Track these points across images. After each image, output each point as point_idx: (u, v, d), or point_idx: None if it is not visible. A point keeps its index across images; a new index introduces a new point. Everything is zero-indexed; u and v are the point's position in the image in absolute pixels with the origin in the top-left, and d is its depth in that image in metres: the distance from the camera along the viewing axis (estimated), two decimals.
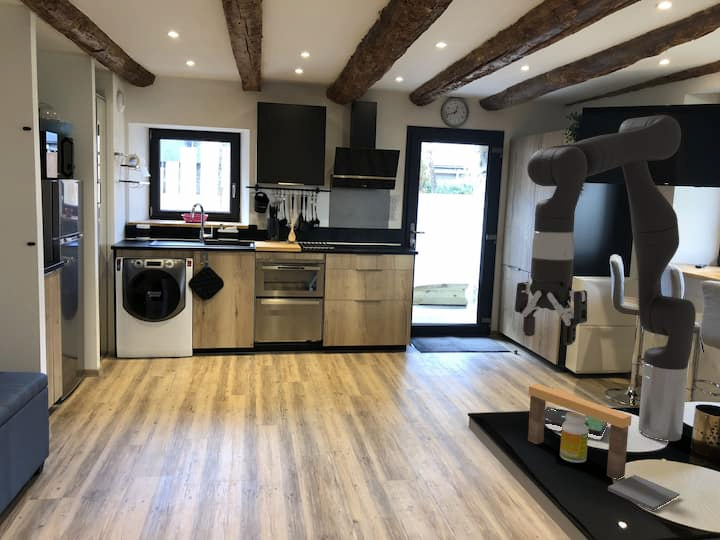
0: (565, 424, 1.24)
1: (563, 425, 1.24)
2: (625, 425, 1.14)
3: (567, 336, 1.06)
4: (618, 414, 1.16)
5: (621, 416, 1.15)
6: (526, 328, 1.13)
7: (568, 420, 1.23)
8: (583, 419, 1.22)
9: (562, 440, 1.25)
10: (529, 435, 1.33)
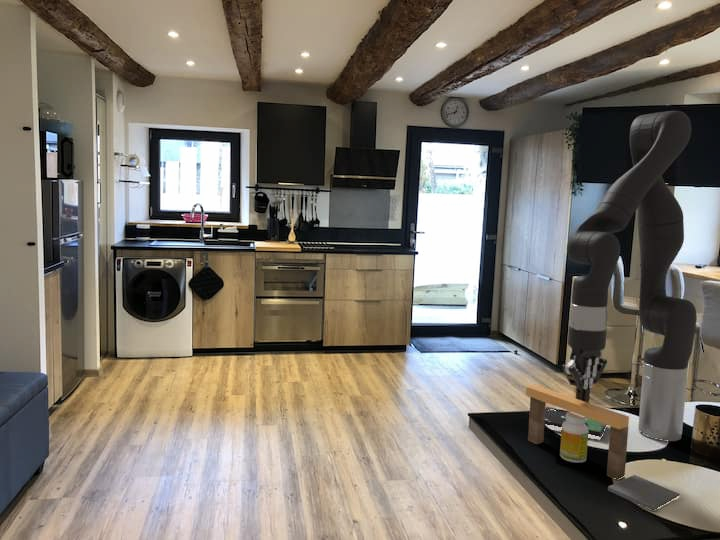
0: (565, 424, 1.24)
1: (563, 425, 1.24)
2: (622, 426, 1.14)
3: None
4: (615, 415, 1.15)
5: (618, 416, 1.14)
6: (586, 398, 1.24)
7: (568, 420, 1.23)
8: (583, 419, 1.22)
9: (562, 440, 1.25)
10: (529, 435, 1.33)
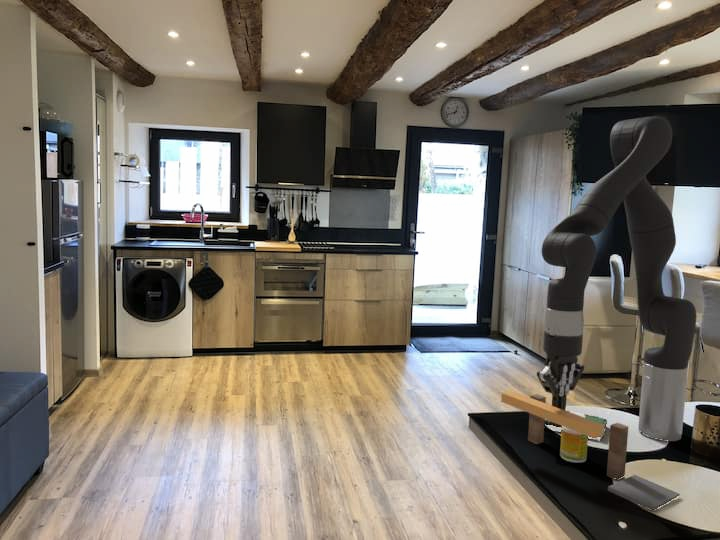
0: None
1: None
2: (597, 435, 1.09)
3: None
4: (590, 423, 1.11)
5: (594, 425, 1.10)
6: (562, 406, 1.19)
7: None
8: None
9: (562, 440, 1.25)
10: (529, 435, 1.33)
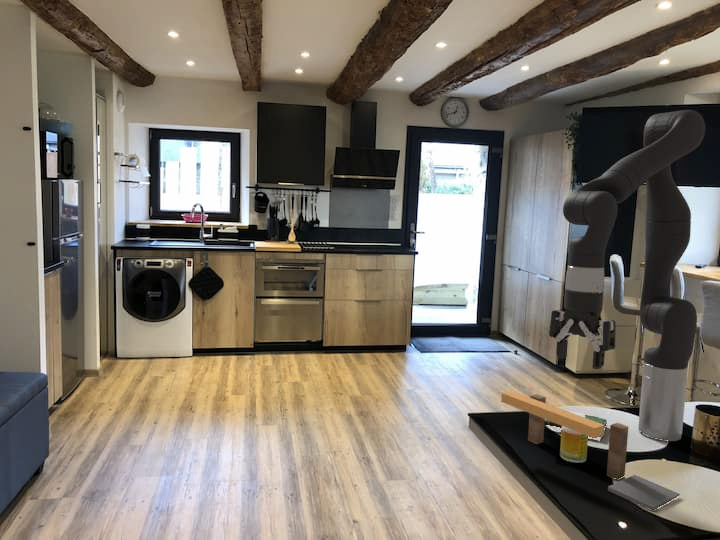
0: None
1: None
2: (597, 435, 1.09)
3: None
4: (590, 423, 1.11)
5: (594, 425, 1.10)
6: None
7: None
8: None
9: (562, 440, 1.25)
10: (529, 435, 1.33)
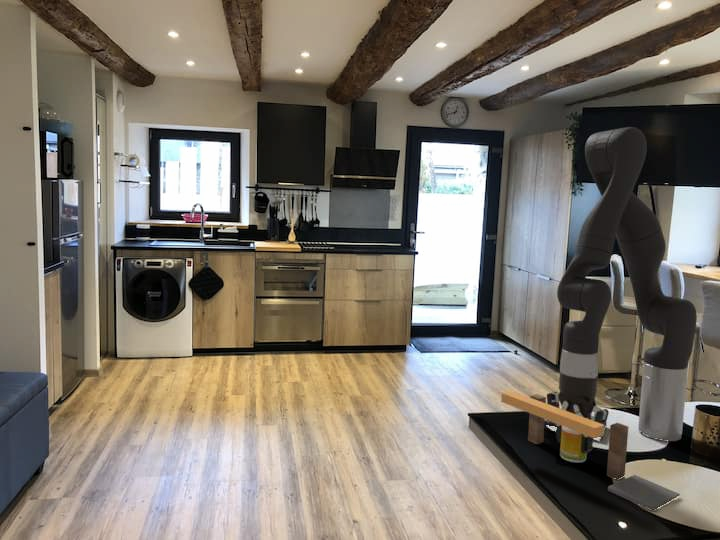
0: None
1: None
2: (597, 435, 1.09)
3: None
4: (590, 423, 1.11)
5: (594, 425, 1.10)
6: None
7: None
8: None
9: (561, 440, 1.25)
10: (529, 435, 1.33)
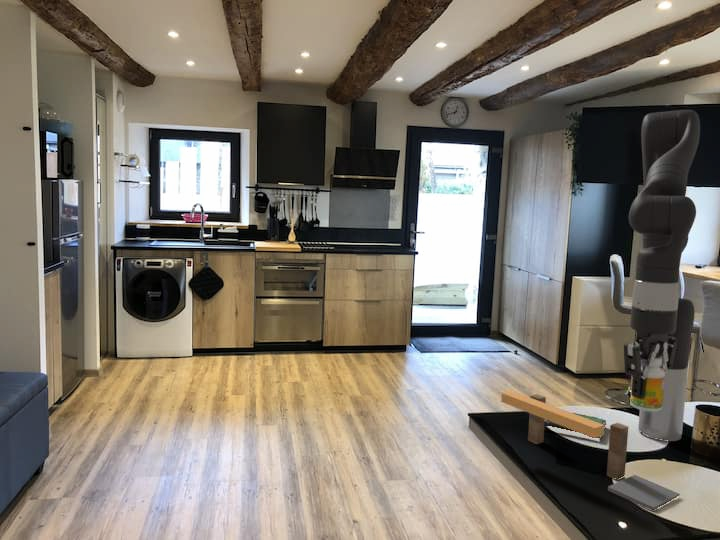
0: None
1: None
2: (597, 435, 1.09)
3: None
4: (590, 423, 1.11)
5: (594, 425, 1.10)
6: (644, 390, 1.05)
7: None
8: (643, 359, 1.06)
9: None
10: (529, 435, 1.33)
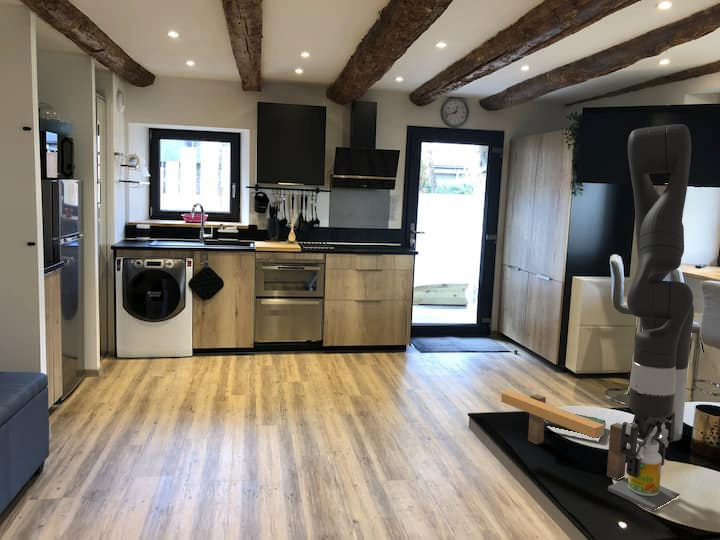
0: None
1: None
2: (597, 435, 1.09)
3: None
4: (590, 423, 1.11)
5: (594, 425, 1.10)
6: (639, 469, 1.06)
7: None
8: None
9: None
10: (529, 435, 1.33)
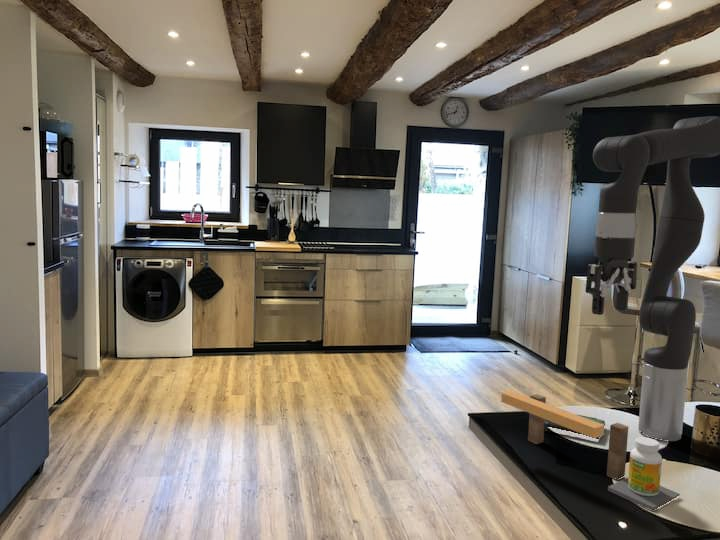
0: None
1: None
2: (597, 435, 1.09)
3: None
4: (590, 423, 1.11)
5: (594, 425, 1.10)
6: (603, 307, 1.18)
7: None
8: (640, 445, 1.08)
9: None
10: (529, 435, 1.33)
